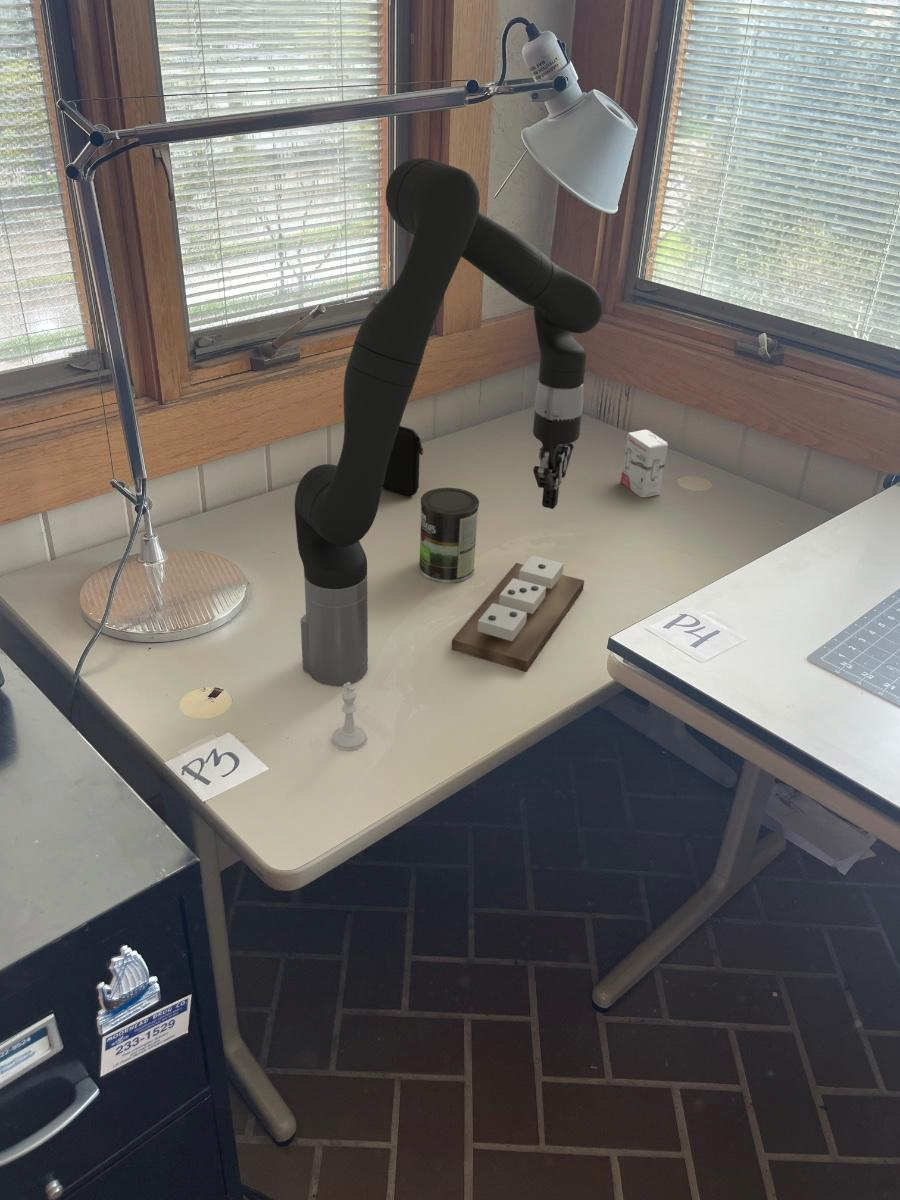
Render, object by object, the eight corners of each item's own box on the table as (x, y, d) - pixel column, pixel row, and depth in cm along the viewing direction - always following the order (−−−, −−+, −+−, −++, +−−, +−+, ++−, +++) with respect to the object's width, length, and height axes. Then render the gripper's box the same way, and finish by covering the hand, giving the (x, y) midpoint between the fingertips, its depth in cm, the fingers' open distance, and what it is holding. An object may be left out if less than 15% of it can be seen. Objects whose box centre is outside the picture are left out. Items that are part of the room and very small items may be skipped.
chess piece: (349, 724, 147) (348, 668, 141) (374, 738, 144) (374, 682, 139) (324, 740, 143) (322, 683, 138) (349, 755, 141) (349, 698, 135)
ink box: (619, 482, 220) (626, 431, 214) (637, 478, 222) (645, 428, 216) (641, 498, 213) (649, 446, 207) (660, 495, 215) (669, 443, 209)
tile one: (518, 580, 176) (519, 569, 175) (531, 565, 181) (532, 554, 180) (551, 588, 174) (552, 577, 173) (562, 573, 179) (564, 562, 177)
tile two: (477, 631, 162) (478, 619, 161) (491, 613, 167) (492, 602, 166) (512, 641, 160) (513, 629, 159) (525, 622, 165) (527, 611, 163)
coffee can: (430, 587, 180) (432, 516, 172) (411, 559, 188) (412, 491, 180) (483, 579, 183) (488, 509, 175) (462, 552, 191) (466, 484, 183)
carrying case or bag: (425, 496, 210) (427, 430, 202) (417, 502, 208) (418, 435, 200) (383, 483, 215) (383, 418, 207) (374, 488, 212) (374, 422, 205)
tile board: (451, 649, 163) (452, 639, 162) (515, 572, 185) (516, 562, 184) (526, 671, 159) (527, 661, 158) (583, 589, 181) (584, 580, 180)
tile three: (498, 604, 169) (499, 593, 168) (512, 588, 174) (513, 577, 173) (532, 614, 167) (533, 602, 166) (545, 597, 172) (546, 585, 170)
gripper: (550, 391, 167) (542, 486, 176) (521, 418, 157) (513, 517, 166) (594, 399, 164) (583, 495, 174) (566, 427, 154) (557, 527, 163)
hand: (549, 506), depth 170 cm, fingers closed
